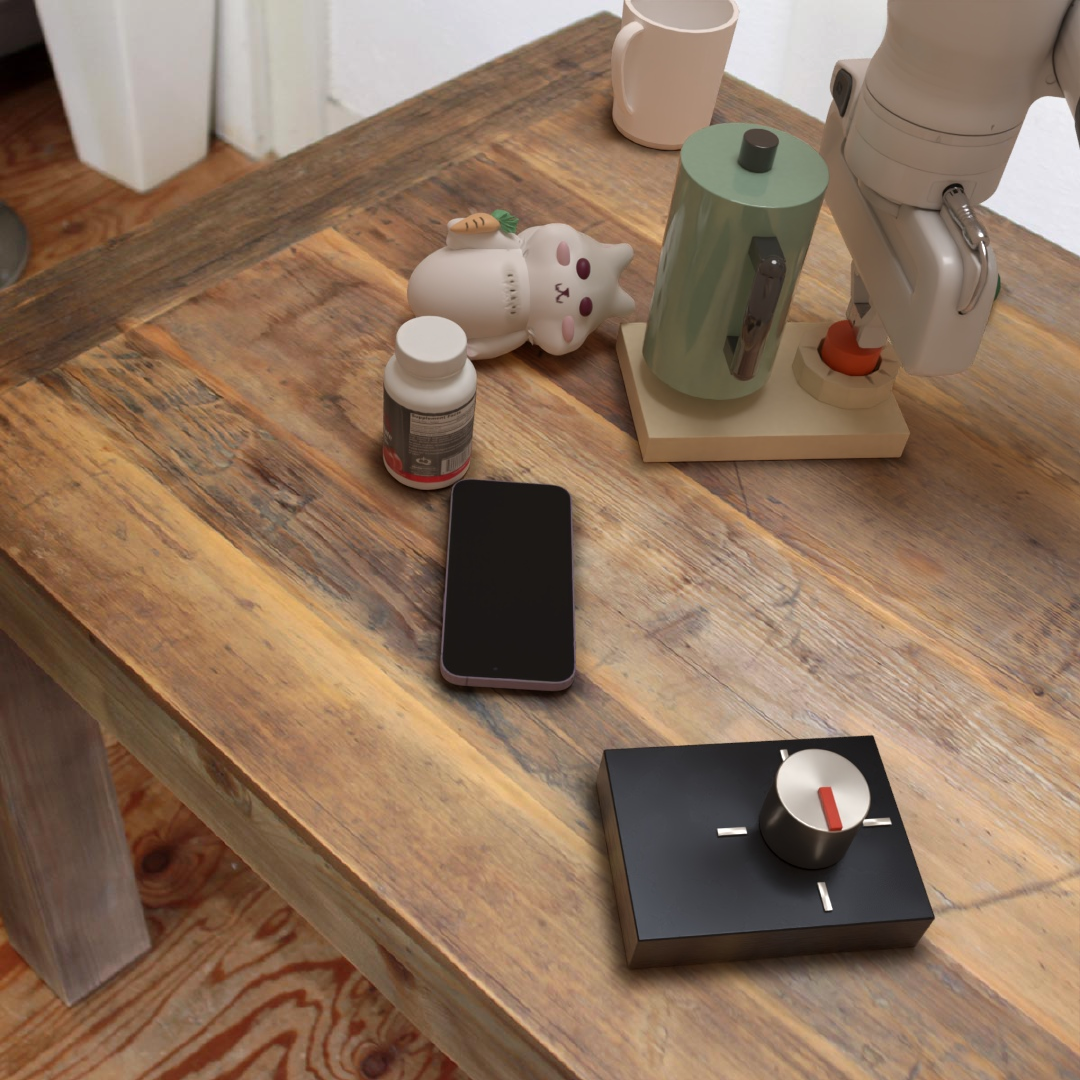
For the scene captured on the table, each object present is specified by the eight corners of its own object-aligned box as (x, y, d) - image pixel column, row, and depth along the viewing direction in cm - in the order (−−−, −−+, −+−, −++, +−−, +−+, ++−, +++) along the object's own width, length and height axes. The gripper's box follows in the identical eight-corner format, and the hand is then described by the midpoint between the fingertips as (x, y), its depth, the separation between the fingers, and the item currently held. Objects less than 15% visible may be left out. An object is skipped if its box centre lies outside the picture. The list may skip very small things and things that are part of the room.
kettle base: (856, 345, 93) (873, 300, 90) (904, 457, 86) (923, 412, 83) (615, 347, 91) (623, 300, 88) (643, 462, 83) (653, 416, 80)
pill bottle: (375, 435, 83) (376, 310, 75) (460, 426, 84) (469, 303, 77) (390, 497, 79) (393, 373, 72) (478, 487, 81) (490, 364, 73)
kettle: (748, 291, 90) (804, 77, 78) (798, 432, 81) (871, 214, 69) (625, 291, 88) (665, 73, 77) (663, 434, 79) (714, 213, 68)
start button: (866, 340, 88) (874, 319, 87) (882, 376, 86) (890, 355, 84) (814, 340, 87) (821, 319, 86) (829, 377, 85) (836, 356, 84)
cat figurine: (397, 220, 82) (639, 201, 83) (400, 211, 90) (622, 194, 90) (412, 373, 85) (646, 354, 86) (414, 352, 92) (629, 335, 93)
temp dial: (750, 789, 65) (767, 746, 62) (836, 785, 65) (858, 742, 63) (770, 872, 62) (790, 831, 59) (861, 866, 62) (884, 826, 60)
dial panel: (857, 765, 70) (874, 732, 68) (916, 946, 63) (937, 916, 61) (595, 780, 68) (603, 746, 65) (628, 969, 61) (638, 939, 59)
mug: (662, 84, 114) (683, -34, 107) (735, 134, 110) (763, 15, 102) (565, 120, 109) (580, -2, 101) (638, 173, 105) (659, 50, 97)
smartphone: (572, 485, 80) (577, 684, 70) (570, 498, 81) (575, 697, 71) (451, 476, 80) (438, 676, 70) (450, 490, 81) (437, 689, 70)
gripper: (1053, 252, 68) (965, 447, 78) (925, 49, 81) (865, 238, 92) (936, 253, 67) (863, 450, 77) (826, 47, 80) (776, 238, 91)
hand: (863, 333), depth 85 cm, fingers closed
